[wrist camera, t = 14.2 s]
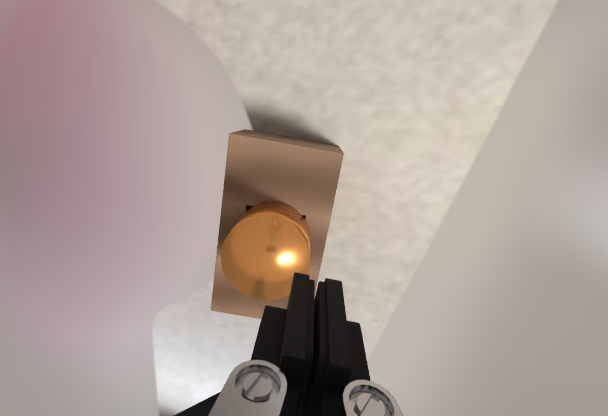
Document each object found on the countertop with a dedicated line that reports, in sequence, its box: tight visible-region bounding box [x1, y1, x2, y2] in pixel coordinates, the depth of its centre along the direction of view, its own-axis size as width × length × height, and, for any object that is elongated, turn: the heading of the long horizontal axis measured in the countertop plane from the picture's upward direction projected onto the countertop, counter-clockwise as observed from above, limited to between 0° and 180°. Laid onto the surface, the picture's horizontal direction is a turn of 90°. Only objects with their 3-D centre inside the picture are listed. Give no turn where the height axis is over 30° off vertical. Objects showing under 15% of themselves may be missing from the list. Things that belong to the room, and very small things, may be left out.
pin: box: [221, 201, 311, 300], centre depth 28 cm, size 6×6×10 cm
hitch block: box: [211, 130, 344, 319], centre depth 31 cm, size 16×9×6 cm, turn 170°
